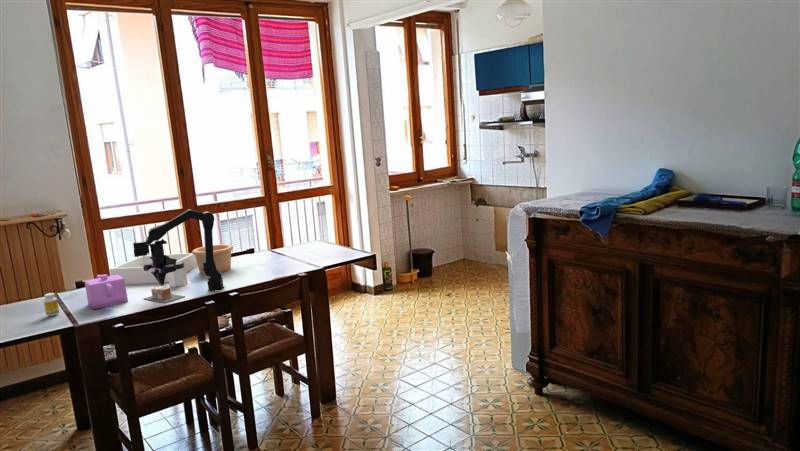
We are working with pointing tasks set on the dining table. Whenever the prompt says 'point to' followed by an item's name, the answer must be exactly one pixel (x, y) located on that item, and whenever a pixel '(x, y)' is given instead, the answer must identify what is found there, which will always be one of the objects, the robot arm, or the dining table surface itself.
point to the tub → (136, 273)
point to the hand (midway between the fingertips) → (162, 285)
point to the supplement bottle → (51, 304)
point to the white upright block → (178, 275)
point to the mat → (172, 298)
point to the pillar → (161, 292)
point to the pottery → (215, 257)
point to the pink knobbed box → (106, 291)
